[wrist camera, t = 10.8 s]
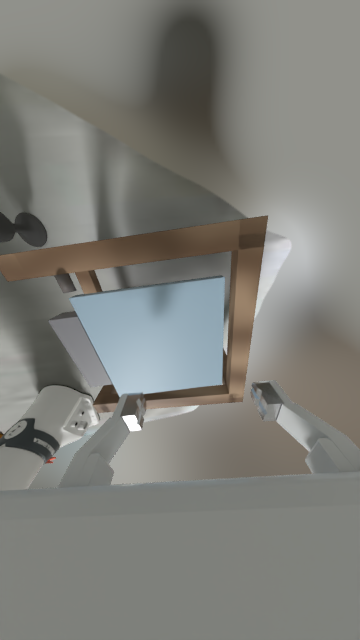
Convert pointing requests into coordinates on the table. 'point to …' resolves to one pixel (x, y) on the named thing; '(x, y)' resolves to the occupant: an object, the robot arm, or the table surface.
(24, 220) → the sundae
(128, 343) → the trapdoor
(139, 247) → the stand
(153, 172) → the table surface
